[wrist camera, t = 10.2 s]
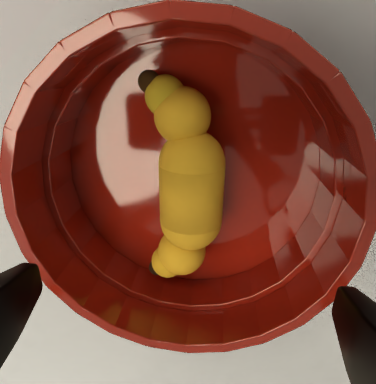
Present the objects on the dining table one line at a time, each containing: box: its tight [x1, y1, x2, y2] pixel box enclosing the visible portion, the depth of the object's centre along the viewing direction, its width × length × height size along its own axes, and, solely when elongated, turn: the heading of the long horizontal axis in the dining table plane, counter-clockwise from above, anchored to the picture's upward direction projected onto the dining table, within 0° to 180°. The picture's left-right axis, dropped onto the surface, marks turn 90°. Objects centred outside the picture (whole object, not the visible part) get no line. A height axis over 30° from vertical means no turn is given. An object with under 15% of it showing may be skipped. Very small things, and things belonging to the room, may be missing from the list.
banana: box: [138, 70, 225, 278], centre depth 16 cm, size 12×4×3 cm, turn 179°
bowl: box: [0, 0, 376, 353], centre depth 16 cm, size 16×16×6 cm
